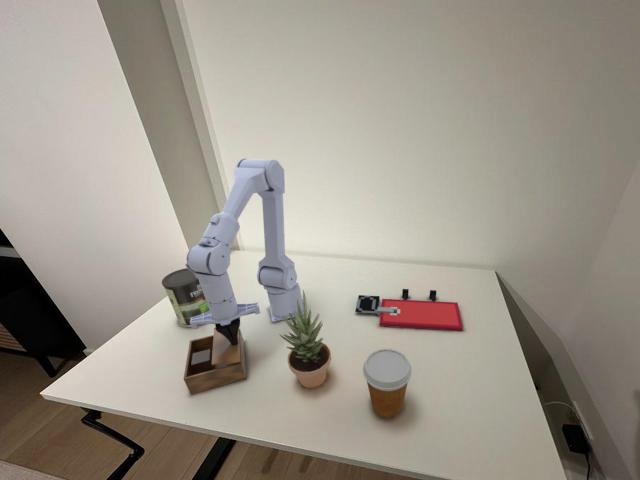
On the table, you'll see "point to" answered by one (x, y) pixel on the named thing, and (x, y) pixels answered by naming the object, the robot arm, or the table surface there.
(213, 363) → the flap
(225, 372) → the wooden box
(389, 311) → the red board with handle
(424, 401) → the table surface
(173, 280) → the coffee can
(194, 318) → the robot arm
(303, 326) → the potted plant
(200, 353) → the block
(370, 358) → the disposable coffee cup
